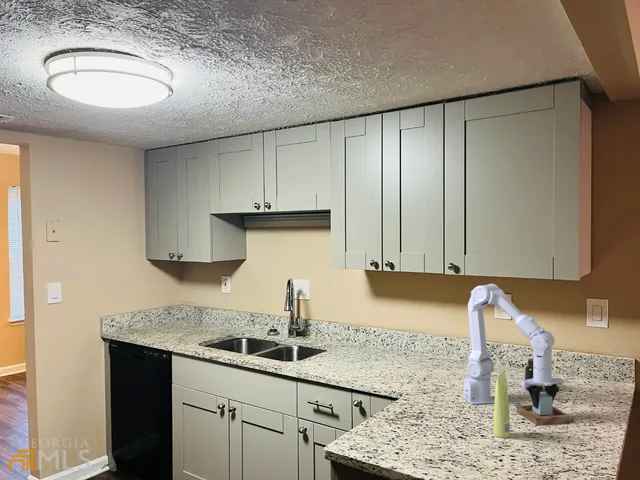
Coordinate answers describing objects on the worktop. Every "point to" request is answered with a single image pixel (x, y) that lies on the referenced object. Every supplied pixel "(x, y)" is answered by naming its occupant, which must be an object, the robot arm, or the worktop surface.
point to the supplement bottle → (530, 372)
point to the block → (544, 405)
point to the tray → (543, 416)
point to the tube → (501, 408)
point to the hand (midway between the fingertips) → (542, 406)
